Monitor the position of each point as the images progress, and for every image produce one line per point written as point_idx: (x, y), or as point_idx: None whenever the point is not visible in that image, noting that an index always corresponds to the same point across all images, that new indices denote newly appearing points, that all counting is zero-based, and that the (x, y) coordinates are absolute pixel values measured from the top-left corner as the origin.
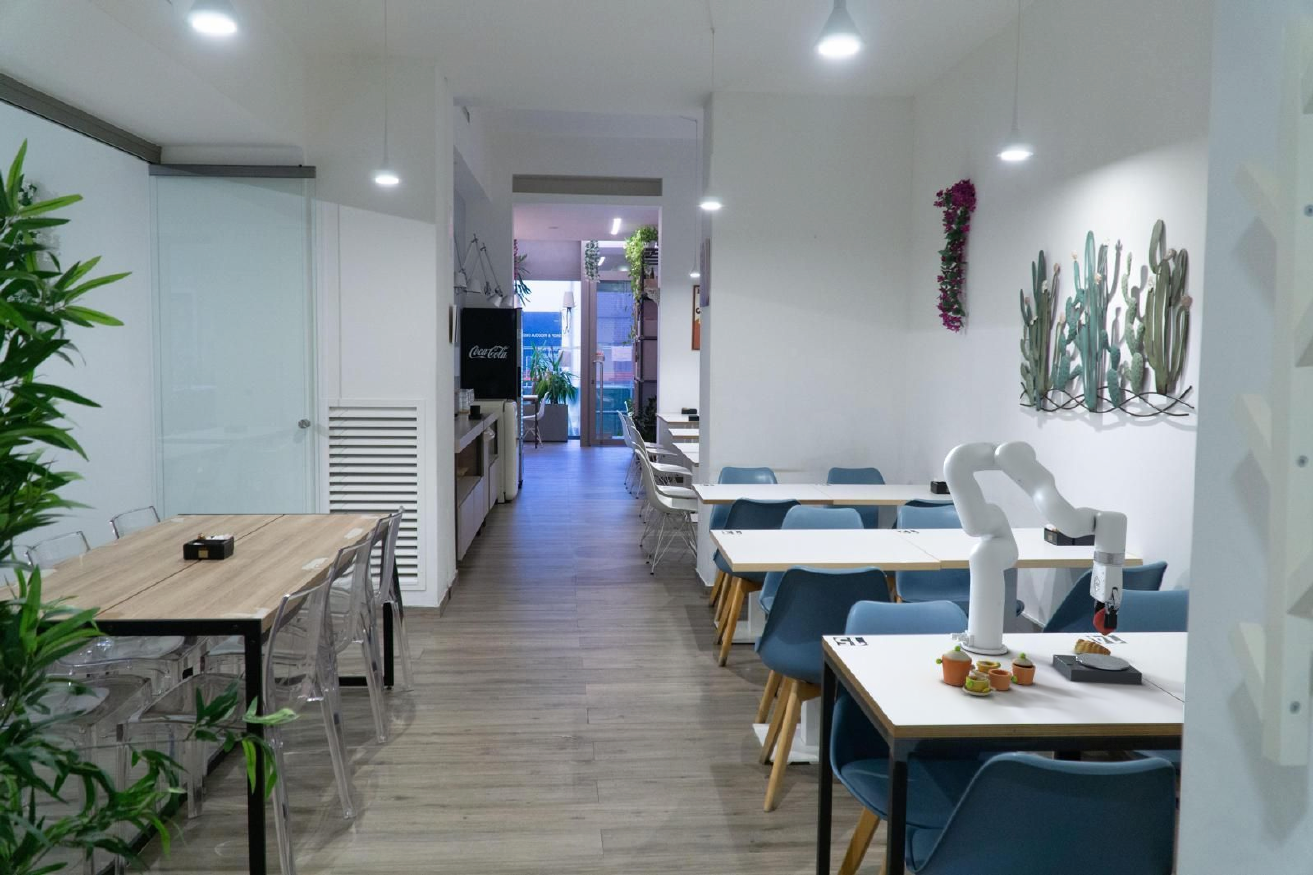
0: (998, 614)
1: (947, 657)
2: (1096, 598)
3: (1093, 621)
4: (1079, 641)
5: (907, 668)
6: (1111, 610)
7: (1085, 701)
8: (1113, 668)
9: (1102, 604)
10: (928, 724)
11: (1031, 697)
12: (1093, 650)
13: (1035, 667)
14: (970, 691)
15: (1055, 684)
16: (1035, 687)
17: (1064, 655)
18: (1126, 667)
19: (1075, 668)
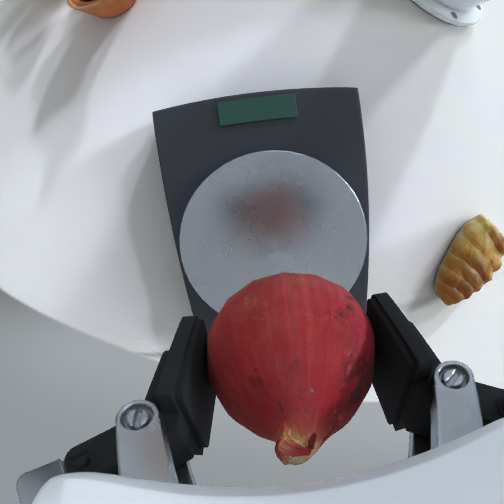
0: None
1: None
2: (286, 500)
3: (311, 280)
4: (495, 236)
5: None
6: (89, 440)
7: (21, 146)
8: (183, 264)
9: (421, 427)
10: None
11: (25, 39)
12: (455, 261)
13: (81, 8)
14: None
15: (119, 72)
16: (84, 30)
17: (354, 126)
18: (216, 309)
19: (171, 128)
